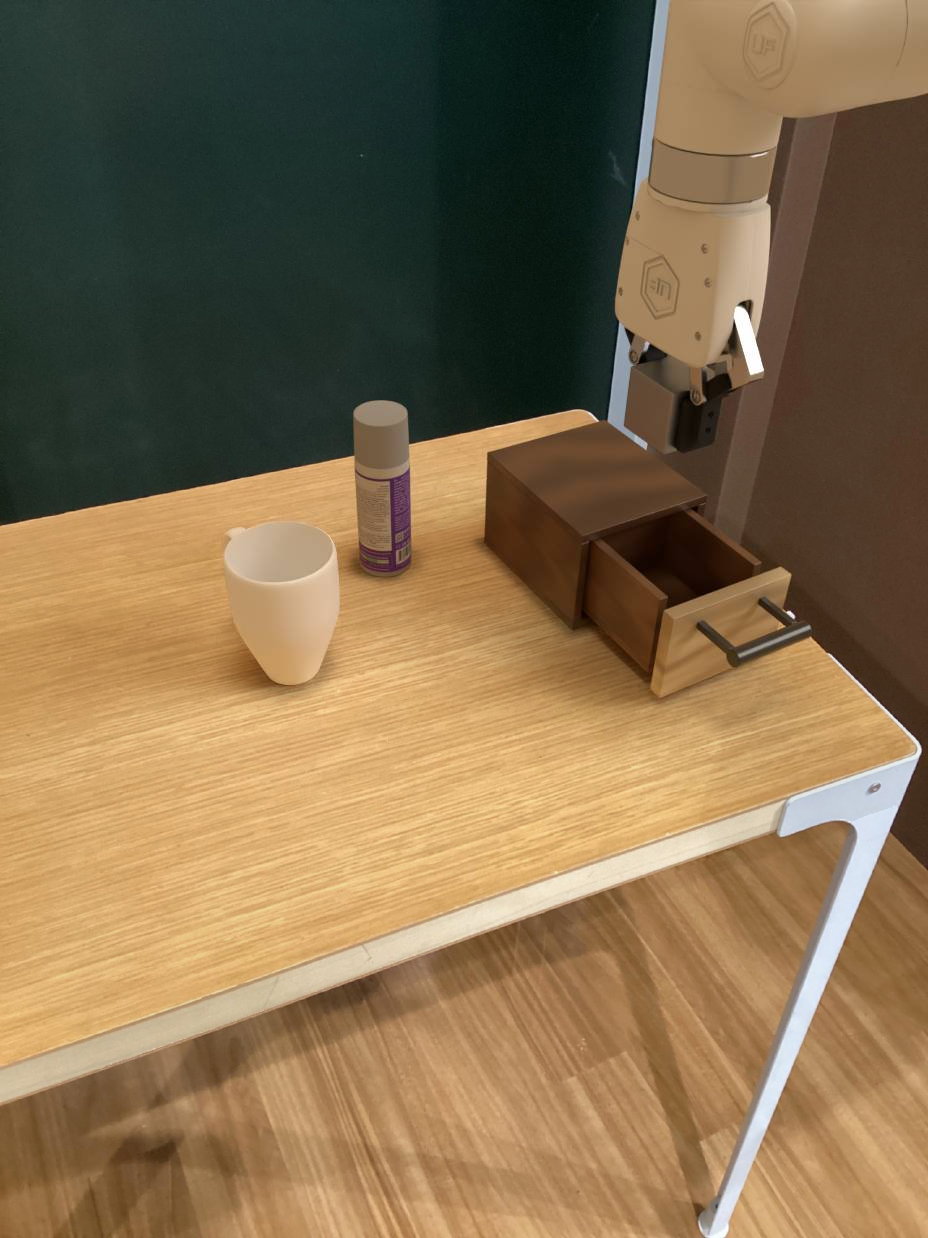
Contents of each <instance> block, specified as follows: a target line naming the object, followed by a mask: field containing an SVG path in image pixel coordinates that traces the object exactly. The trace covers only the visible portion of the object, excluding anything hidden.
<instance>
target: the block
mask: <svg viewBox="0 0 928 1238" xmlns="http://www.w3.org/2000/svg"><path fill="white" fill-rule="evenodd" d="M713 377H715V370H713V369H712V368H710V367H709V366H707V381H709V380H710V379H712V378H713ZM626 395H627V396H626V402H625V403H626V404H625V409H624V411H625V412H624V417H623V427H624V428H625V429H627V430H628V431H629V432H631V433H632V434H634V435H635V436H637V437H638V438H640V439H641V440H642V441H643V442H645V443H646V444H648V445H649V446H650V447H652V448H653V449H655V450H656V451H657V452H659V453H660V454H662V456H663V455H664V456H665V455H669V454H672V453H676V452H679V451H678V450H676V439H677V433H678V426H679V420H680V414H681V408H682V403H683V400H685V399H689V398H690V379H689V366H687V365H685V364H683V363H682V362H680V361H678V360H676V359H675V358H673V357H671V356H670V355H668V356H667V357H665V358H661V359H657V360H654V361H650V362H646V363H642V364H638V365H631V366H630V370H629V380H628V387H627V394H626ZM723 403H724V400H723V401H722V404H723ZM722 407H723V405H722V406H721V409H723V408H722ZM721 413H722V410H721V411H720V414H721ZM720 418H721V416H720V417H719V420H720ZM719 424H720V421H719V422H718V425H719ZM718 429H719V426H718V427H717V430H718ZM717 435H718V432H717V433H716V436H717ZM716 439H717V437H716V438H715V440H716Z"/></svg>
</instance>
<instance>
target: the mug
mask: <svg viewBox="0 0 928 1238" xmlns="http://www.w3.org/2000/svg"><path fill="white" fill-rule="evenodd" d="M221 549H222V567H223V574H224V581H225V587H226V588H225V589H226V593H227V594H226V595H227V600H228V605H229V611H230V614H231V617H232V620H233V623H234V626H235V628H236V630H237V632H238V634H239V637H241V639H242V641H243V642H244V644H245V645H246V647H247V648H248V650H249V651H250V653H251V654H252V656H253V657H254V658H255V660H256V662H257V663H258V664H259V666H260V667H261V669H262V670H263V672H264V674H266V676H267V677H268V678H269V679H270V680H271V681H273V682H274V683H276V684H279V685H282V686H296V685H300V684H304V683H307V682H309V681H310V680H312V679H313V678H314V677H316V675H317V674H318V672H319V671H320V668H321V666H322V664H323V661H324V657H325V655H326V653H327V650H328V647H329V646H330V643H331V639H332V637H333V635H334V633H335V629H336V627H337V623H338V619H339V613H340V605H341V591H340V590H341V589H340V577H339V564H338V563H339V562H338V552H337V547H336V545H335V542H334V540H333V539H332V537H331V536H330V535H329V534H328V533H327V532H325V531H324V530H323V529H321V528H319V527H318V526H316V525H313V524H310V523H306V522H304V521H303V522H302V521H296V520H275V521H268V522H262V523H259V524H255V525H253V526H251V527H247V528H245V527H243V526H237V527H232V528H230V529H228V530H227V531H226V532H225V533H224V534H223V536H222V539H221Z"/></svg>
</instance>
